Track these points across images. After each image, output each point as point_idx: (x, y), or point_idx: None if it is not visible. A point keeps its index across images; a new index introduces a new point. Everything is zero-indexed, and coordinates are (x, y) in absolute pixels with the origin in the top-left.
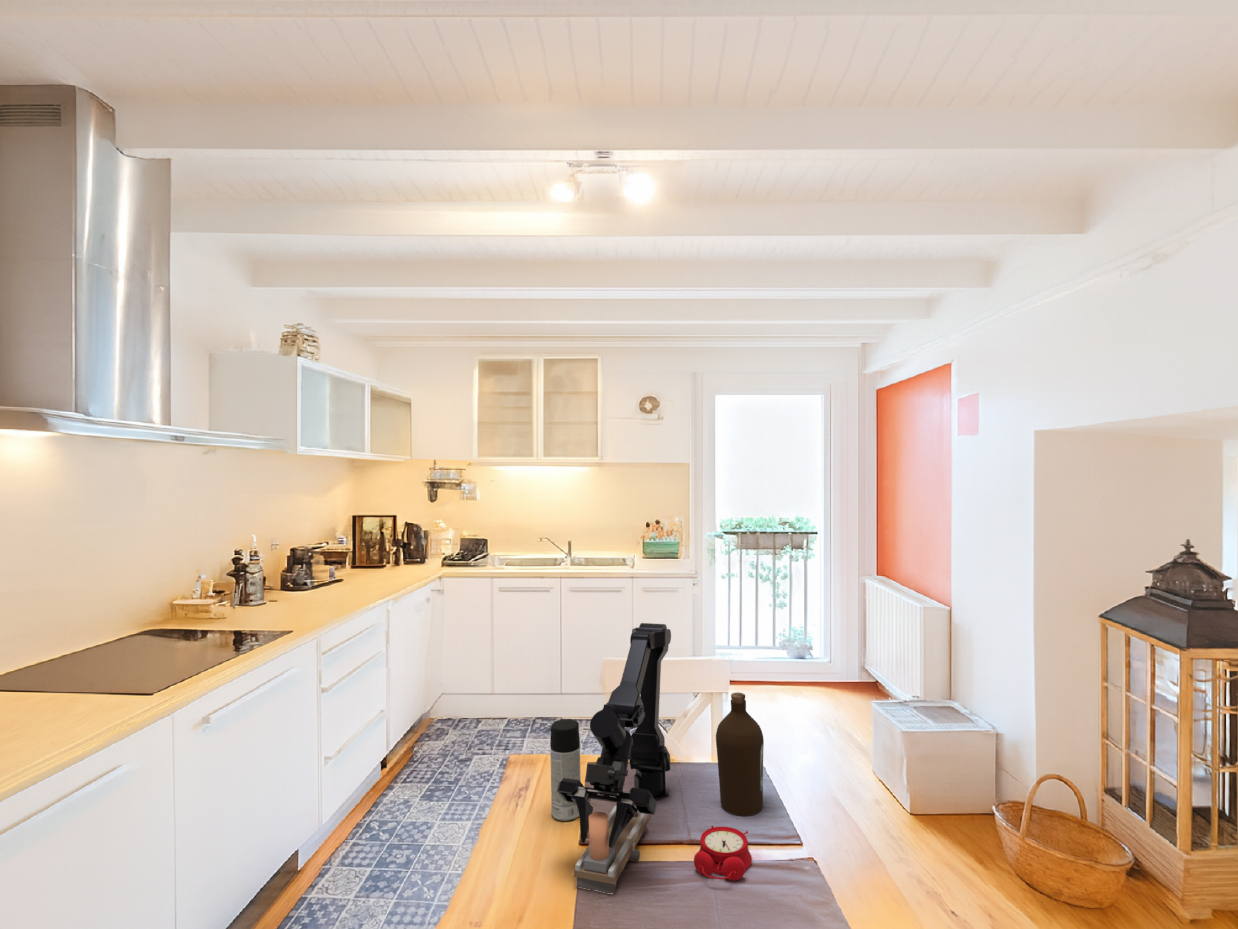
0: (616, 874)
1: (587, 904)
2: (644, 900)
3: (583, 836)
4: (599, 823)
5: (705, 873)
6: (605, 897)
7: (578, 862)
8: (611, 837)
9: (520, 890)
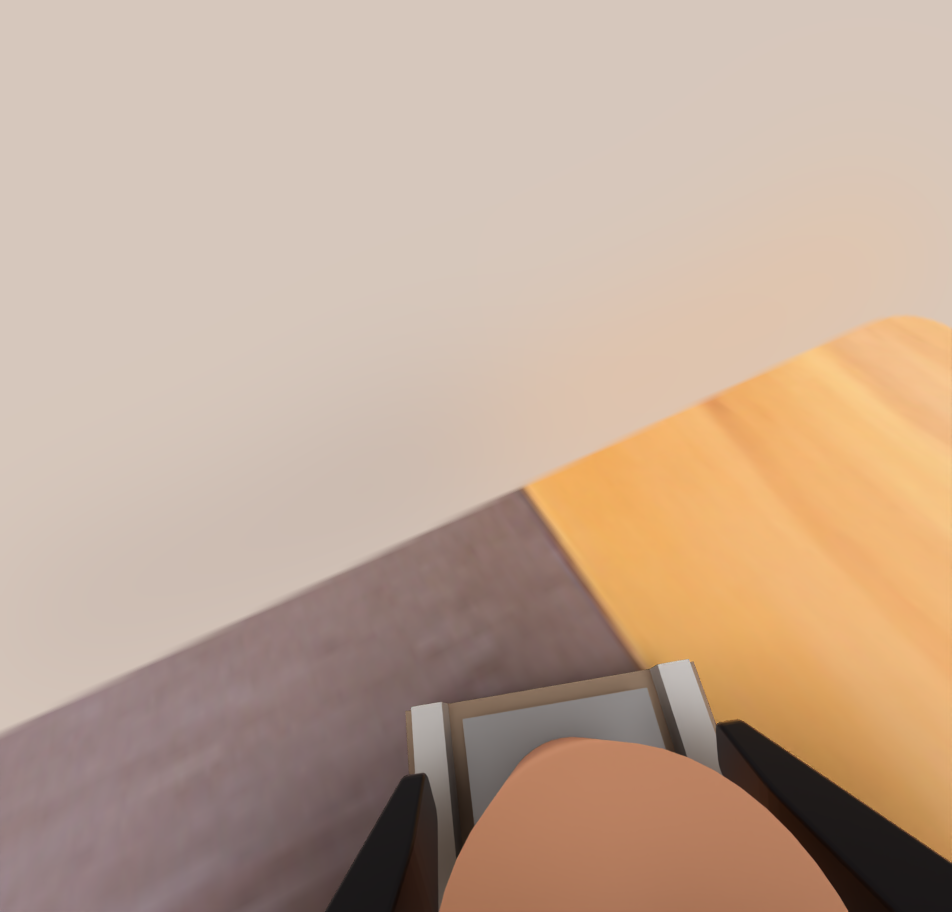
0: (408, 757)
1: (523, 589)
2: (271, 752)
3: (746, 753)
4: (512, 784)
5: None
6: (470, 678)
7: (693, 698)
8: (388, 842)
9: (883, 527)
